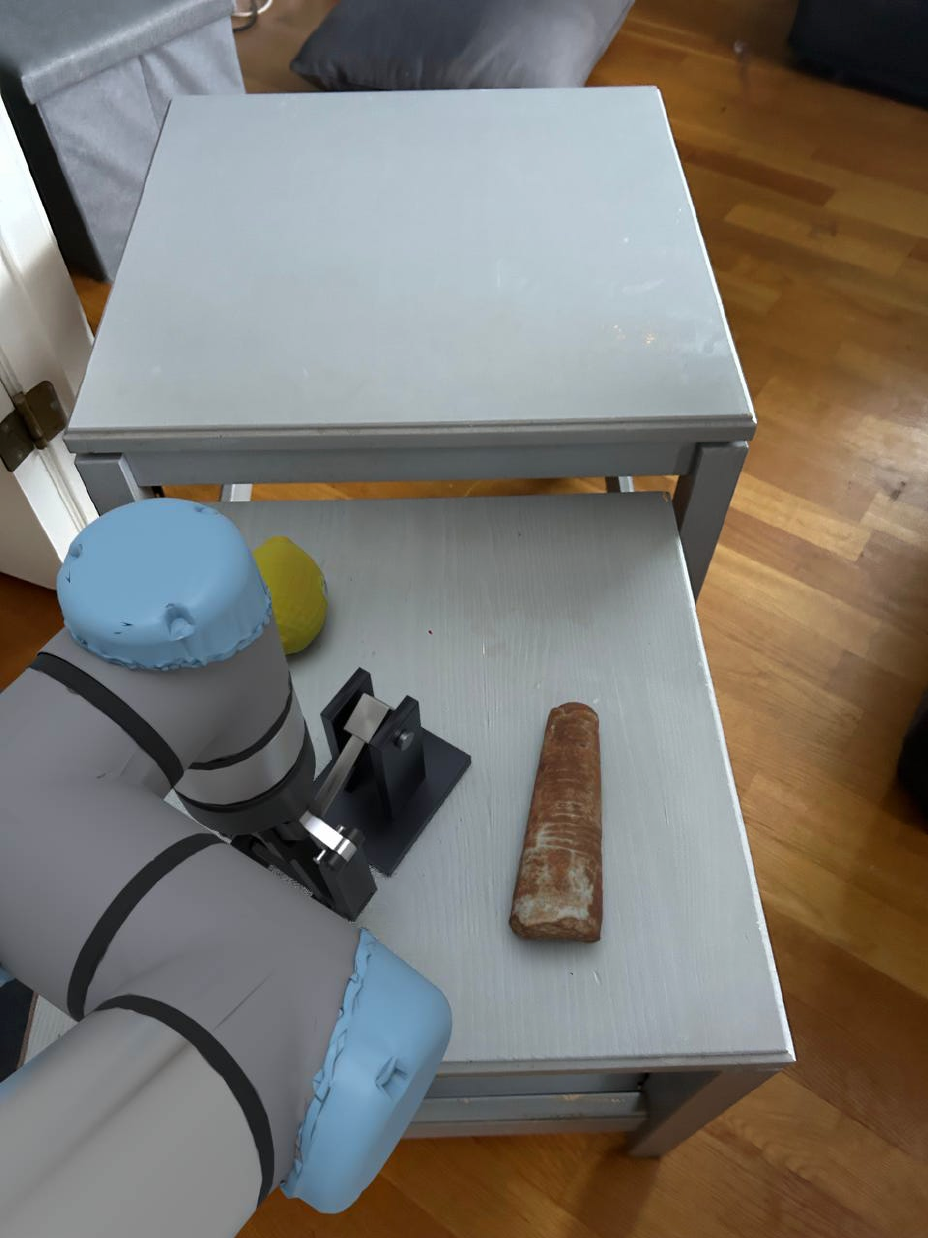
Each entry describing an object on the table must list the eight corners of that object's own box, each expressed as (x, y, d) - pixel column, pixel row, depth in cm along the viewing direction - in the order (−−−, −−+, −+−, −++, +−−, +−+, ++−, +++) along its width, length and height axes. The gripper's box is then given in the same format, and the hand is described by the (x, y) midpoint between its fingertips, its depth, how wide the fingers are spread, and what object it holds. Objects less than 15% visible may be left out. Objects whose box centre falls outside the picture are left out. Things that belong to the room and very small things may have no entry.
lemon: (321, 681, 79) (307, 627, 72) (230, 673, 79) (208, 619, 73) (344, 577, 85) (333, 519, 78) (259, 571, 85) (241, 512, 79)
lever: (326, 896, 64) (312, 898, 61) (257, 849, 65) (241, 850, 63) (423, 725, 65) (413, 721, 62) (353, 684, 66) (340, 678, 64)
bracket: (390, 877, 69) (375, 806, 59) (294, 814, 72) (263, 736, 62) (471, 762, 74) (471, 679, 64) (379, 708, 77) (364, 619, 67)
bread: (505, 947, 66) (507, 923, 62) (542, 712, 77) (546, 677, 72) (594, 964, 66) (603, 941, 61) (619, 724, 76) (628, 689, 72)
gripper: (427, 776, 47) (440, 918, 66) (150, 607, 53) (235, 781, 72) (335, 901, 44) (377, 1012, 63) (49, 705, 50) (166, 861, 69)
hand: (301, 889), depth 68 cm, fingers closed on lever, 6 cm apart
